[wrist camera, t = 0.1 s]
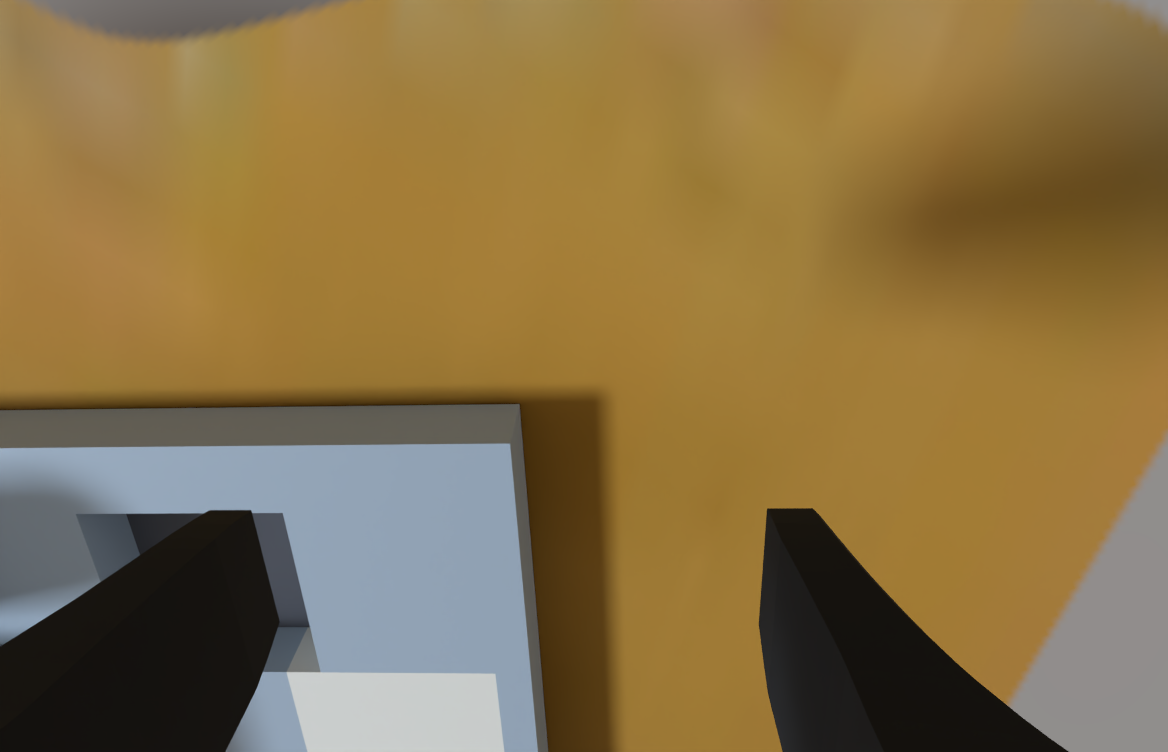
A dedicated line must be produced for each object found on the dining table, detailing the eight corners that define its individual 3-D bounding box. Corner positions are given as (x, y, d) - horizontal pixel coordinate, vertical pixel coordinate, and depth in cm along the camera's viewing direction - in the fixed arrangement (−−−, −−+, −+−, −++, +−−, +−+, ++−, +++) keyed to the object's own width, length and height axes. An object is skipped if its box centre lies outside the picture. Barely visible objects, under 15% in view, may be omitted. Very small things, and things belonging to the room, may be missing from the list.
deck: (554, 830, 30) (543, 967, 26) (-96, 819, 31) (-203, 947, 27) (519, 403, 22) (495, 503, 18) (-337, 414, 24) (-535, 509, 20)
